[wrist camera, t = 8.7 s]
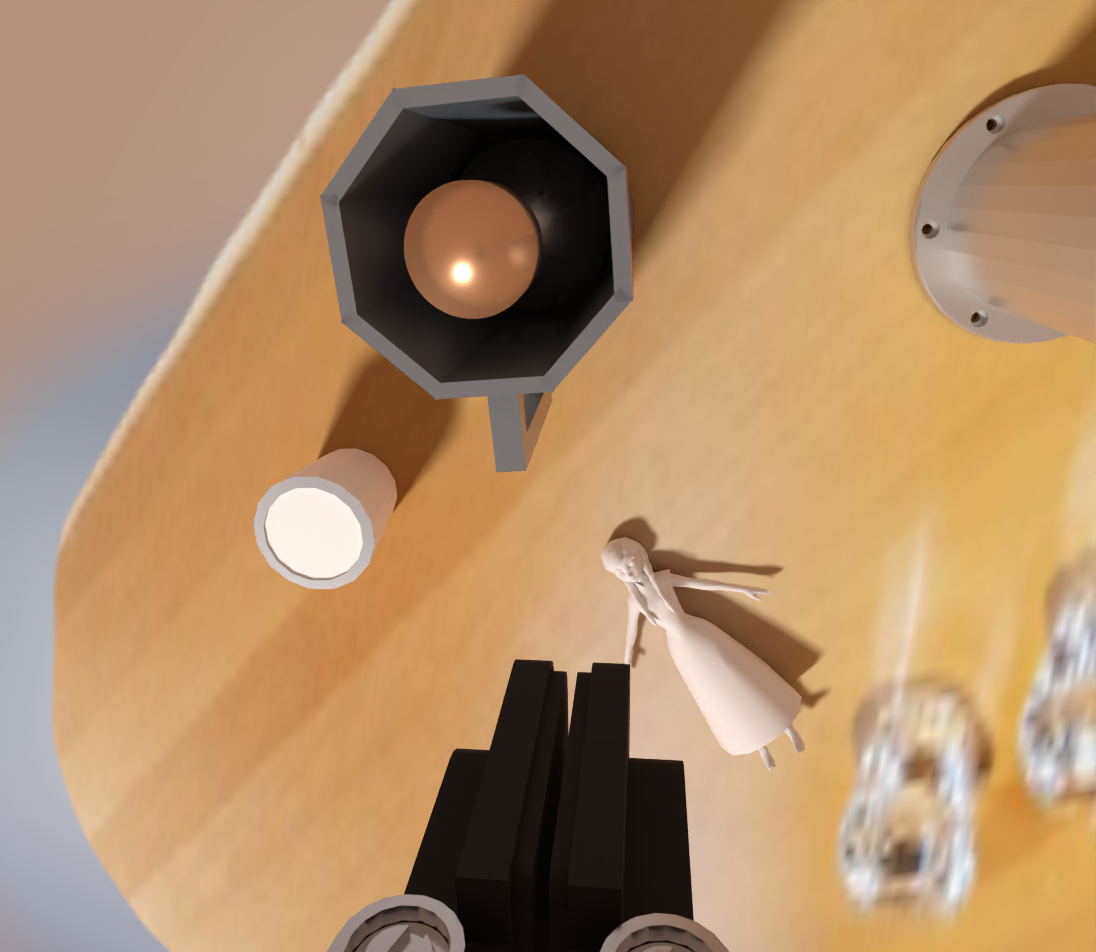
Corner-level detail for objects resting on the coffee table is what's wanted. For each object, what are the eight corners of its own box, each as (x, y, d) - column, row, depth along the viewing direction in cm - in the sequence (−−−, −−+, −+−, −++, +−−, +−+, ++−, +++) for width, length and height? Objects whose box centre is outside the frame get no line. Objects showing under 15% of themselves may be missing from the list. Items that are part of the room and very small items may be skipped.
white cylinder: (358, 416, 50) (317, 452, 43) (429, 503, 51) (399, 550, 45) (278, 477, 52) (227, 519, 45) (349, 559, 53) (309, 611, 46)
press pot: (628, 106, 42) (625, 55, 26) (642, 374, 47) (647, 480, 30) (426, 128, 44) (296, 93, 27) (459, 386, 48) (366, 495, 32)
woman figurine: (713, 817, 52) (532, 609, 50) (709, 773, 56) (542, 579, 54) (872, 726, 49) (686, 498, 46) (855, 687, 53) (684, 476, 50)
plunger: (604, 130, 40) (588, 97, 25) (615, 301, 43) (606, 368, 28) (440, 147, 42) (324, 126, 26) (460, 313, 44) (367, 384, 29)
